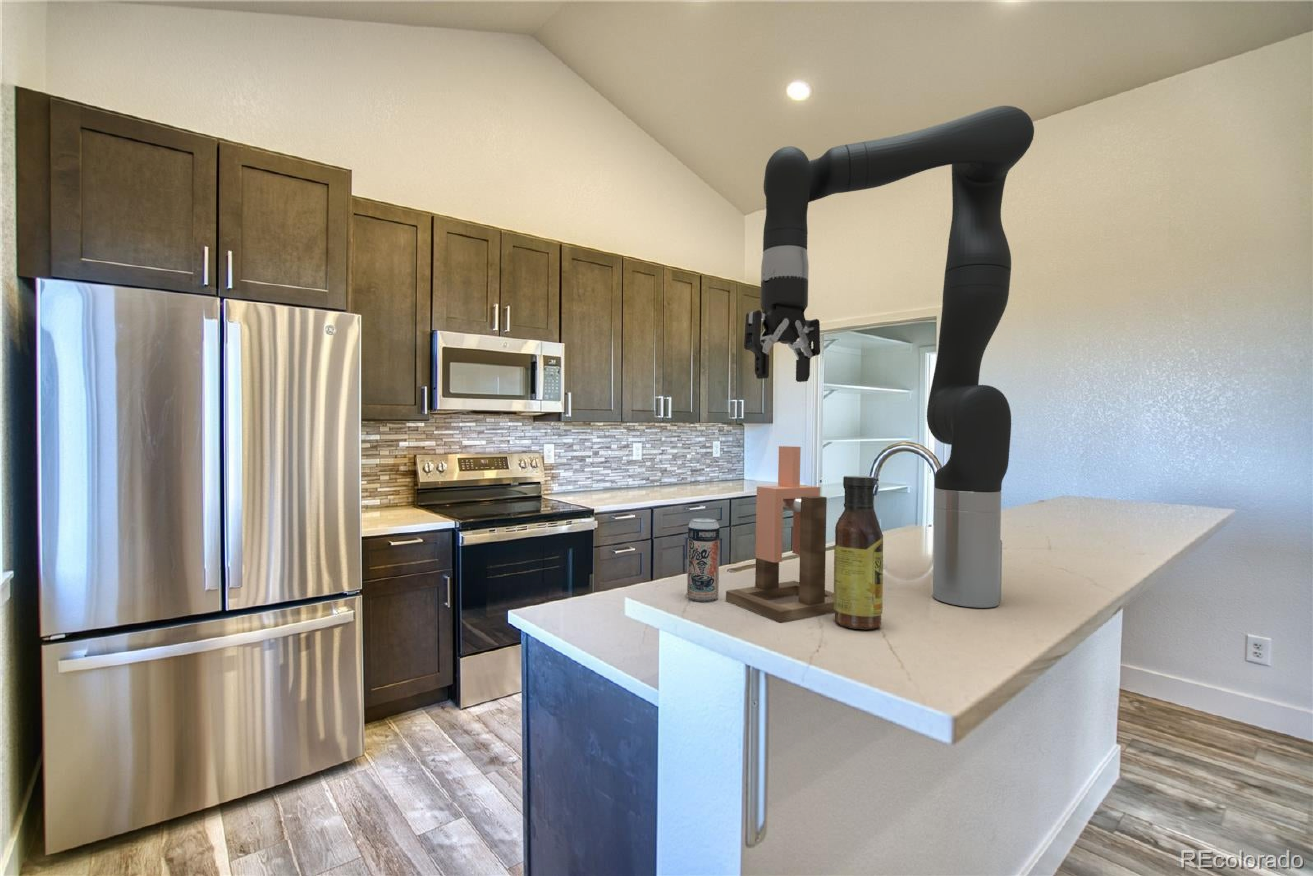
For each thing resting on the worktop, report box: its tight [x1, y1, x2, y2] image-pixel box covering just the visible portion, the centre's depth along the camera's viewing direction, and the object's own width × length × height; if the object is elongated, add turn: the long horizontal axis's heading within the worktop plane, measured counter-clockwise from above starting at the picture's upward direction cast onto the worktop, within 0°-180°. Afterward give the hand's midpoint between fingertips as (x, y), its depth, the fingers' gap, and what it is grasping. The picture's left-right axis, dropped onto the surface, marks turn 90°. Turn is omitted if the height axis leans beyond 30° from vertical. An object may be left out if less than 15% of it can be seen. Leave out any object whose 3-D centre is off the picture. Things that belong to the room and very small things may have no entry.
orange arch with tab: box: [754, 445, 821, 563], centre depth 89 cm, size 9×4×16 cm, turn 122°
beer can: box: [686, 517, 720, 602], centre depth 92 cm, size 5×5×12 cm
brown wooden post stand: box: [725, 495, 835, 624], centre depth 89 cm, size 14×12×16 cm
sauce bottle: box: [833, 475, 884, 631], centre depth 81 cm, size 7×6×20 cm
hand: (782, 380), depth 97 cm, fingers open, 8 cm apart
